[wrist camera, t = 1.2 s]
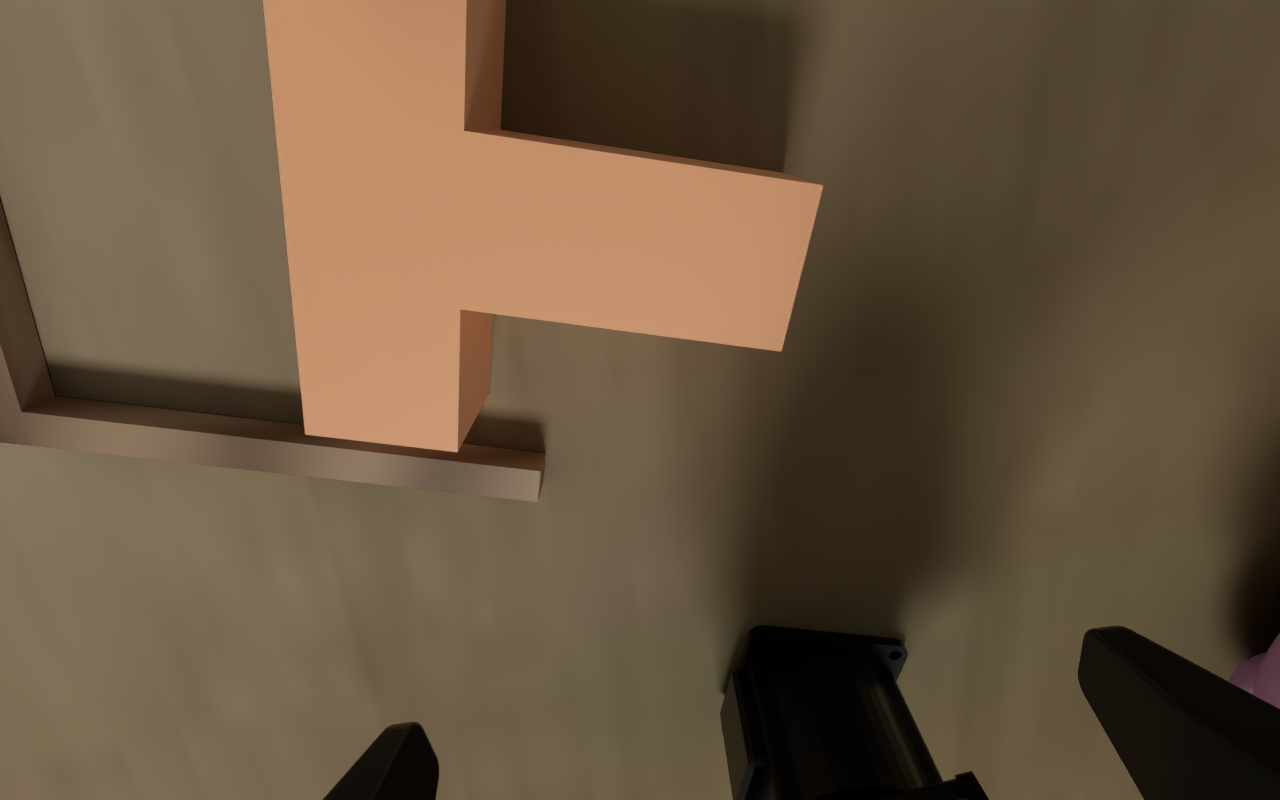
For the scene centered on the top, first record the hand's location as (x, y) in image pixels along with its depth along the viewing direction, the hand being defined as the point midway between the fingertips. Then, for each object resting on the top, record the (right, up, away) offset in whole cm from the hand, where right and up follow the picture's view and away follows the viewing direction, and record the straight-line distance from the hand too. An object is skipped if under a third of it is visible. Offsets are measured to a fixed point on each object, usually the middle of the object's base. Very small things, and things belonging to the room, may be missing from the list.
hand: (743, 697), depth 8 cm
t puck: (-4, +9, +9) cm, 14 cm away
